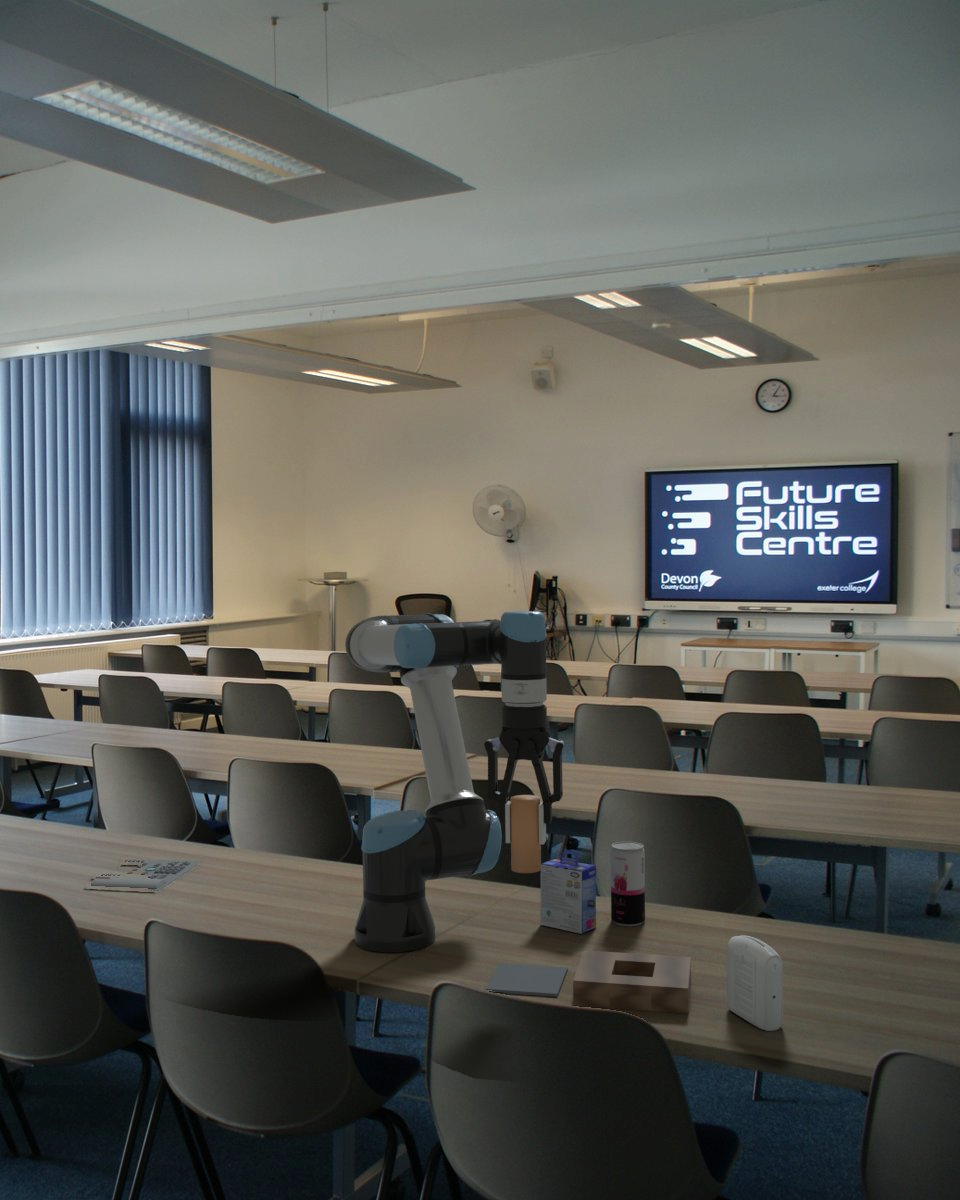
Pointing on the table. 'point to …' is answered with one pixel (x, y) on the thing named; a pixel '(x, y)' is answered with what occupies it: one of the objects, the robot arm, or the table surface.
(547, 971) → the mat
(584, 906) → the ink cartridge box
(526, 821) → the peg
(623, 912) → the beverage can
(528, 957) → the table surface
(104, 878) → the office telephone
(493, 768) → the robot arm
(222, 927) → the table surface
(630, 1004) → the pocket block
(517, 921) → the table surface
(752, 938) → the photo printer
